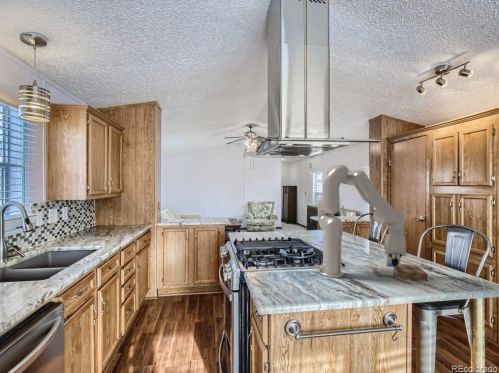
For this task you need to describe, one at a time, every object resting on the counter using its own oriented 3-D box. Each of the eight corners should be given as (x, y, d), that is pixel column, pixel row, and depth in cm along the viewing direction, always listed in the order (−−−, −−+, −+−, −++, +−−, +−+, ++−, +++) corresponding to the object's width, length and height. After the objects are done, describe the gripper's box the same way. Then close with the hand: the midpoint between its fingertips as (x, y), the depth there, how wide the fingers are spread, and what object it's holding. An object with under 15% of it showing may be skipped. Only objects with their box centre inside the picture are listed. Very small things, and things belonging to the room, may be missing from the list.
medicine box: (386, 266, 168) (386, 252, 168) (384, 264, 173) (385, 250, 173) (400, 267, 167) (400, 253, 166) (398, 265, 171) (398, 251, 171)
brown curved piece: (401, 279, 145) (402, 271, 145) (393, 270, 160) (393, 263, 160) (427, 281, 142) (427, 273, 142) (416, 272, 158) (416, 265, 158)
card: (393, 271, 149) (393, 275, 149) (389, 266, 158) (389, 270, 158) (381, 270, 151) (381, 274, 151) (378, 265, 159) (377, 269, 159)
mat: (377, 276, 149) (377, 275, 149) (371, 268, 162) (371, 268, 162) (399, 278, 146) (399, 277, 146) (392, 270, 160) (392, 269, 160)
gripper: (408, 232, 155) (407, 265, 155) (379, 231, 158) (378, 262, 158) (413, 235, 147) (411, 269, 147) (382, 233, 151) (381, 266, 151)
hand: (394, 265), depth 153 cm, fingers closed
